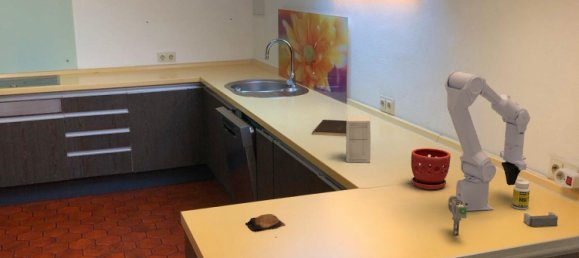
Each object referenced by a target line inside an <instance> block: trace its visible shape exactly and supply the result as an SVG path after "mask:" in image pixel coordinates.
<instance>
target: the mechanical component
mask: <svg viewBox="0 0 579 258" xmlns="http://www.w3.org/2000/svg"><path fill="white" fill-rule="evenodd" d="M447 203H448V211H449V212H450V213H451V214H452V218H451V219H452V221H453V227H452V235H453V236H455V235H457V236H460V235H459V234H460V233H459V232H460V222H461V221H462V220H463V219H467V214H468V211H467V206H466V205H465V203H464V202H463V201H462V200H458V198H457V197H456V195H451V196H449V197H448V202H447Z"/></svg>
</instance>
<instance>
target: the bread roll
mask: <svg viewBox="0 0 579 258" xmlns="http://www.w3.org/2000/svg"><path fill="white" fill-rule="evenodd" d="M245 226H246V227H247V228H248V229H249V231H252V232H254V233H259V232H260V233H261V232H265V231H270V230H275V229H278V228H281V227H285V226H286V223H284V222H283V221H281V220H280V219H279V218H278V217H277V216H276V215H274V214H273V213H266V214H261V215H259V216H256V217H251V218H250V219H249V221H247V222H245Z"/></svg>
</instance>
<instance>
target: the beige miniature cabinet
mask: <svg viewBox="0 0 579 258" xmlns="http://www.w3.org/2000/svg"><path fill="white" fill-rule="evenodd" d="M370 117H371V116H370V115H347V116H346V121H347V124H346V136H345V140H346V141H345V146H346V149H345V150H346V151H345V152H346V153H345V156H346V157H345V158H346V159H345V160H346V163H360V164H361V163H365V164H366V163H368V164H369V163H371V149H372V147H371V144H372V142H371V138H372V137H371V118H370Z"/></svg>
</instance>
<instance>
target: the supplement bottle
mask: <svg viewBox="0 0 579 258" xmlns="http://www.w3.org/2000/svg"><path fill="white" fill-rule="evenodd" d="M530 191H531V189H530V182H529V181H528V180H524V179H517V180H516V183H515V185H514V187H513V192H512V194H513V195H512V202H511V203H512V204H511V207H512V208H514V209H515V210H516V209H517V210H527V209H528V208H529V201H530V193H531V192H530Z"/></svg>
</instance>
